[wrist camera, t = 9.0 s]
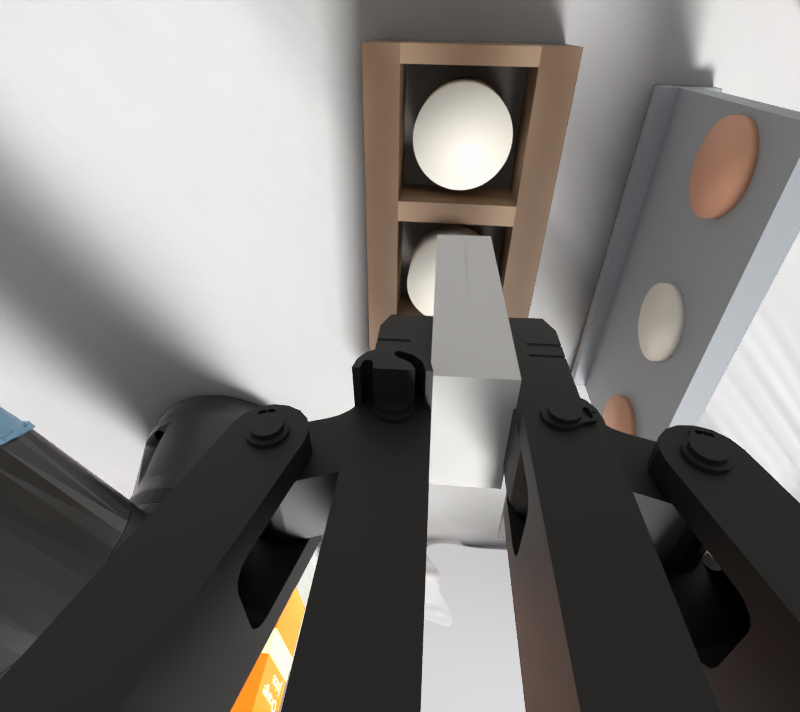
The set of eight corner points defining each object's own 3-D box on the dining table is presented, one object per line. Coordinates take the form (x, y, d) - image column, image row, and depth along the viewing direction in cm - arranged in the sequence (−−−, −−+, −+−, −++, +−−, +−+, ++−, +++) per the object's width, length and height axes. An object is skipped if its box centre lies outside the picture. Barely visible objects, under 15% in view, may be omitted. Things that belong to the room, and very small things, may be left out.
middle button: (409, 296, 31) (406, 319, 28) (412, 222, 28) (408, 241, 26) (485, 301, 30) (488, 325, 28) (496, 226, 28) (500, 246, 25)
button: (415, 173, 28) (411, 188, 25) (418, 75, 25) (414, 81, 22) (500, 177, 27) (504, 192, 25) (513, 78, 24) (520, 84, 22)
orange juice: (224, 574, 59) (137, 784, 42) (291, 577, 57) (227, 794, 41) (243, 606, 63) (170, 807, 47) (305, 609, 62) (253, 816, 46)
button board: (378, 379, 38) (371, 412, 35) (373, 40, 25) (361, 42, 21) (501, 388, 37) (506, 423, 34) (565, 44, 24) (583, 47, 21)
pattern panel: (570, 376, 36) (613, 506, 26) (654, 84, 25) (785, 123, 15) (609, 379, 36) (667, 511, 26) (713, 86, 24) (885, 127, 15)
